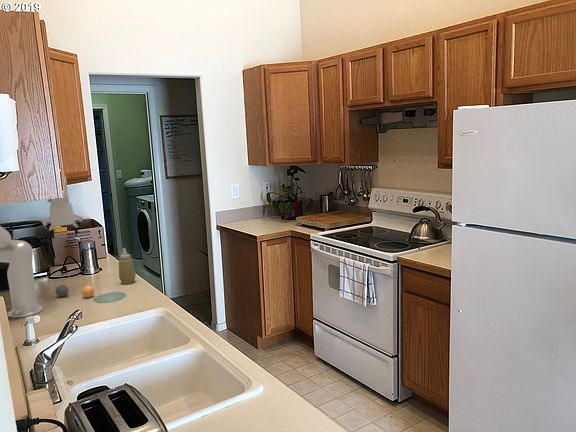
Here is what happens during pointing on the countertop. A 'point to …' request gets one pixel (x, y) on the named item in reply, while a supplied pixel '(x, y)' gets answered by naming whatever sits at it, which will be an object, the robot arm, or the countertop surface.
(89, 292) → the object ball
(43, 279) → the countertop surface
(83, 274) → the countertop surface
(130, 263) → the squeeze bottle
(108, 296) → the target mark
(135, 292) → the countertop surface
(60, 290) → the dark gray ball
